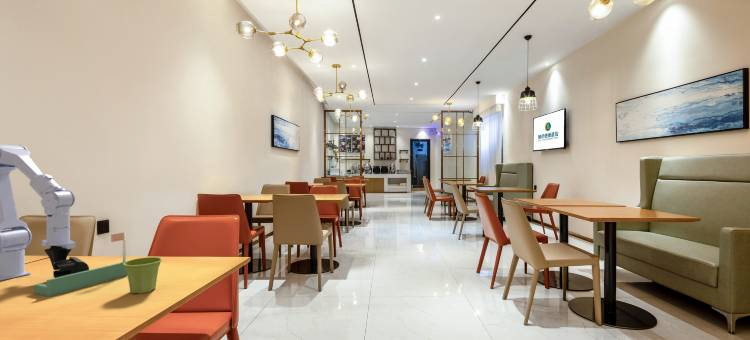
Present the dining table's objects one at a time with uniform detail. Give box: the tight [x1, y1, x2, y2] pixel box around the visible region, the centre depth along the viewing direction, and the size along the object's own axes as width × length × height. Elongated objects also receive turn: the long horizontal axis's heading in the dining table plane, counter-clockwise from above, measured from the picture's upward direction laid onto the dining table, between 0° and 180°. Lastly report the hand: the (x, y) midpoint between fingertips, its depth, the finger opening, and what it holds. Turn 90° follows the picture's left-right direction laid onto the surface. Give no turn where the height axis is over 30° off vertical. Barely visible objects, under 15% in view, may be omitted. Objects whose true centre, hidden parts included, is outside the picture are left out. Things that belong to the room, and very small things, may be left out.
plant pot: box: [123, 256, 163, 295], centre depth 103 cm, size 9×9×9 cm
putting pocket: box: [33, 231, 128, 297], centre depth 110 cm, size 7×22×14 cm, turn 159°
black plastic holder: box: [52, 256, 90, 278], centre depth 113 cm, size 10×7×7 cm
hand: (58, 269), depth 115 cm, fingers closed
